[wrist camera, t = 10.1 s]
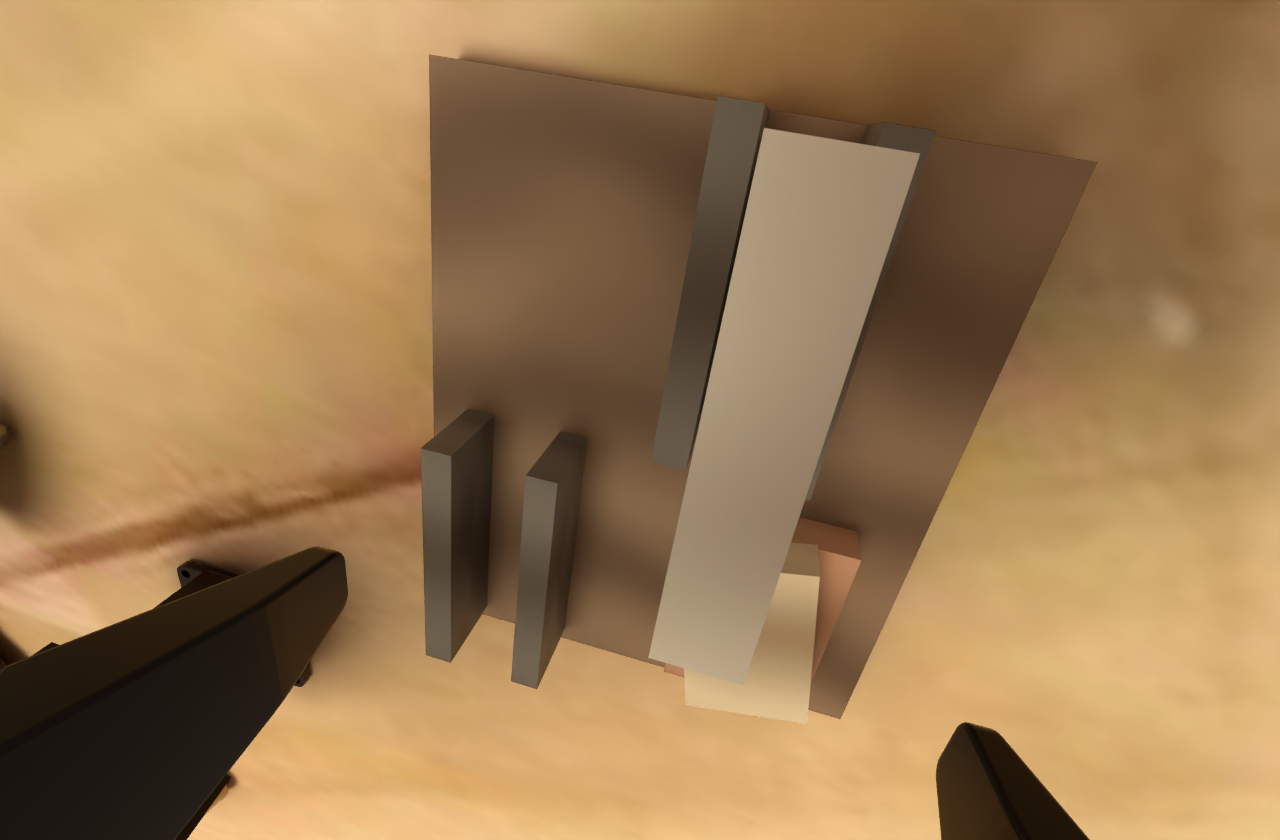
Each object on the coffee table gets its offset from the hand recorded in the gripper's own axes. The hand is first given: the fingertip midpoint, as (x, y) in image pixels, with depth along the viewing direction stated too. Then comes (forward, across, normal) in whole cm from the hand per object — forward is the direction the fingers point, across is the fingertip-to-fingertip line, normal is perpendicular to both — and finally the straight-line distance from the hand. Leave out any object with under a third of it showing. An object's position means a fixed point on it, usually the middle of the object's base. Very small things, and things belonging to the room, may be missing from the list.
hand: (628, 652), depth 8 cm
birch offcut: (+10, -3, +7) cm, 12 cm away
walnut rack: (+13, +1, +2) cm, 13 cm away
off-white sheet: (+11, -1, -3) cm, 11 cm away
